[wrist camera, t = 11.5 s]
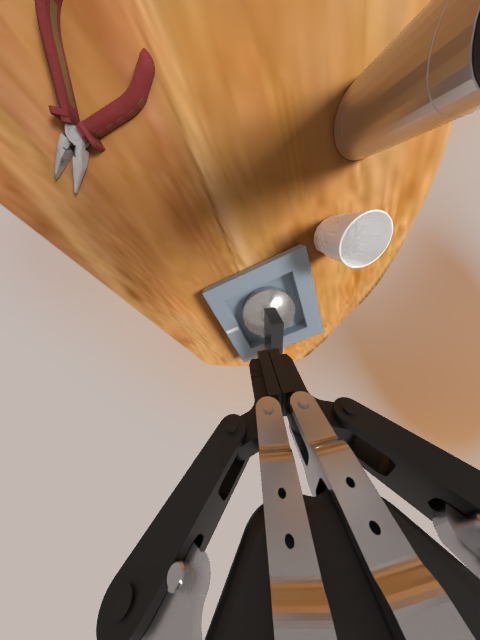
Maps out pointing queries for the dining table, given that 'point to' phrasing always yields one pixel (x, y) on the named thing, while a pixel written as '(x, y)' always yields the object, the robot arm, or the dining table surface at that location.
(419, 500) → the robot arm
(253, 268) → the housing
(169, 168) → the dining table surface
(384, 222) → the white cup
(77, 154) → the pliers
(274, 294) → the dial
